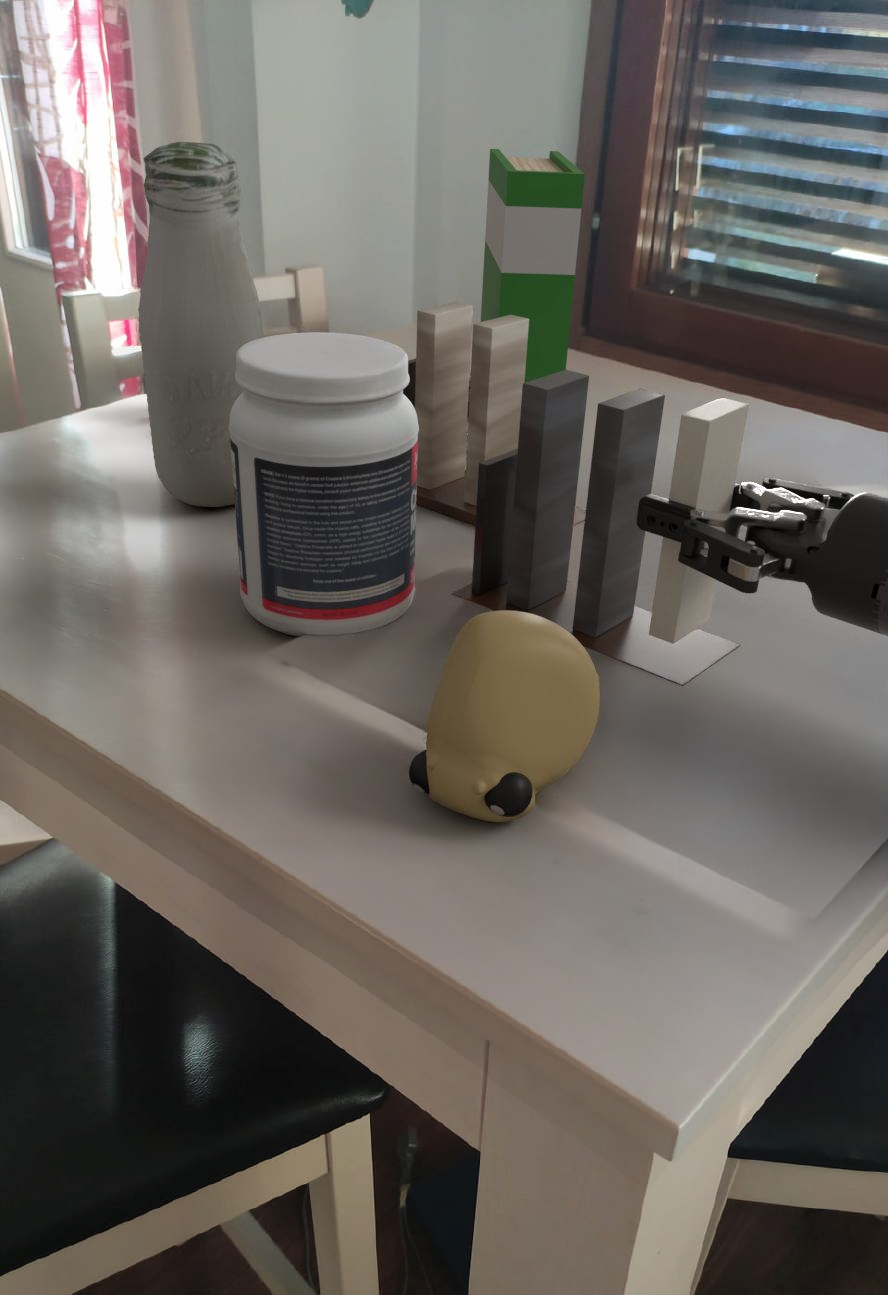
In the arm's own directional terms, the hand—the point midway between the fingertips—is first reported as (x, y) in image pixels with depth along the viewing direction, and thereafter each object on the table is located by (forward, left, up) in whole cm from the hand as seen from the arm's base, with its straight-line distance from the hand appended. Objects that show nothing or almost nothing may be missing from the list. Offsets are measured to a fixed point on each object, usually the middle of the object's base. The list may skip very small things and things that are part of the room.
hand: (664, 499), depth 77 cm
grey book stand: (+3, -3, -11) cm, 12 cm away
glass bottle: (+30, -31, -11) cm, 44 cm away
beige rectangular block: (-2, +2, -8) cm, 9 cm away
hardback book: (-4, -60, -11) cm, 61 cm away
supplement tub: (+22, -9, -11) cm, 26 cm away
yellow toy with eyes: (+14, +15, -11) cm, 23 cm away
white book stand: (+6, -28, -11) cm, 31 cm away
